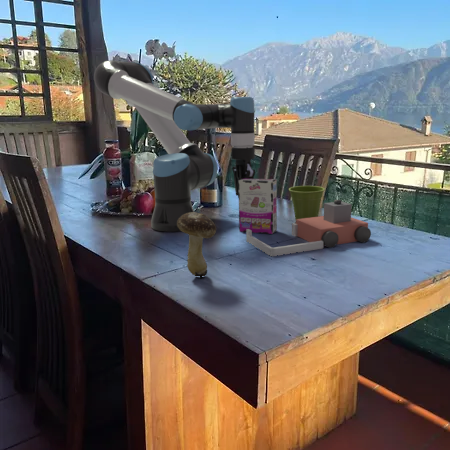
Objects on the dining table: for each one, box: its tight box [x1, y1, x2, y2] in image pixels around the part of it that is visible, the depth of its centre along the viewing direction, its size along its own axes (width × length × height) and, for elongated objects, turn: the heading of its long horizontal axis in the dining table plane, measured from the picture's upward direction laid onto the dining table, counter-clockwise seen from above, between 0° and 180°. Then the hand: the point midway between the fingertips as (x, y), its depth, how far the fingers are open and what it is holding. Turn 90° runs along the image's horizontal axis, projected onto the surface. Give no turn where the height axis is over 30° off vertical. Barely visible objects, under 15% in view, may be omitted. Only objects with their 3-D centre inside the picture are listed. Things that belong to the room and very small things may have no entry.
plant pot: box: [288, 185, 326, 221], centre depth 151 cm, size 12×12×11 cm
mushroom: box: [177, 211, 217, 277], centre depth 102 cm, size 9×9×15 cm
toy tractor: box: [245, 199, 372, 257], centre depth 129 cm, size 32×17×11 cm, turn 112°
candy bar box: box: [238, 178, 278, 235], centre depth 140 cm, size 11×5×16 cm, turn 68°
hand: (243, 217), depth 151 cm, fingers closed
